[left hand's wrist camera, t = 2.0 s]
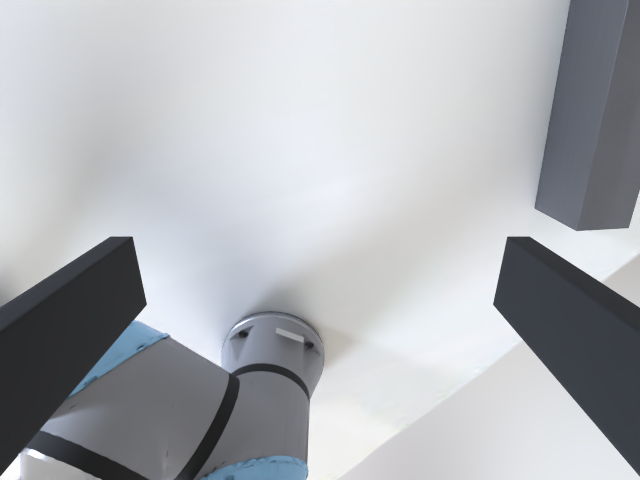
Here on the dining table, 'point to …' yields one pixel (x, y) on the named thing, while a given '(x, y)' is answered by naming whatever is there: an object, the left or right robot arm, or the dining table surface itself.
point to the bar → (595, 119)
